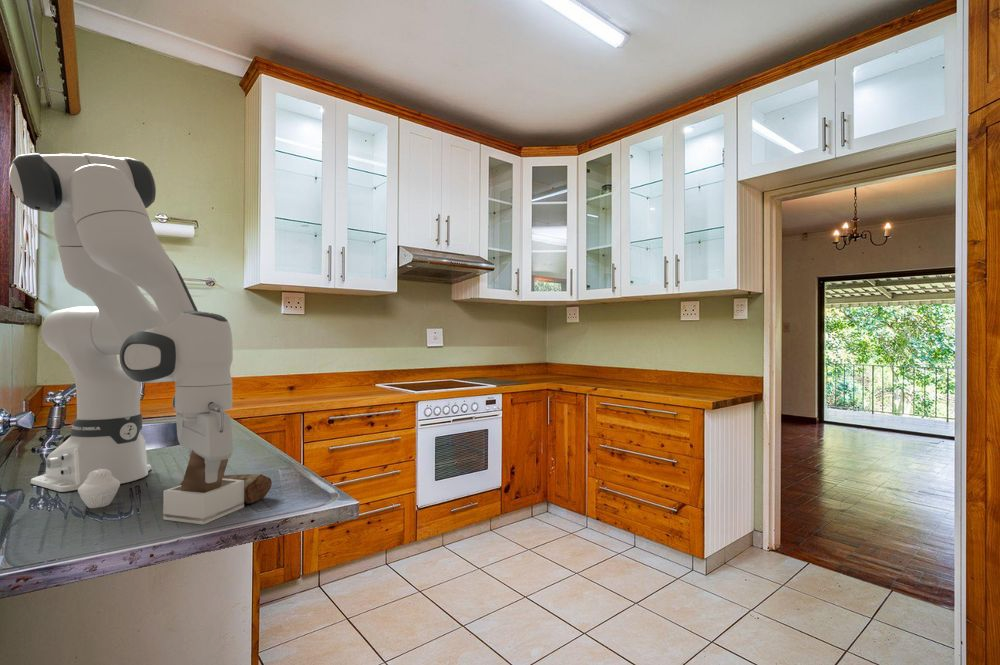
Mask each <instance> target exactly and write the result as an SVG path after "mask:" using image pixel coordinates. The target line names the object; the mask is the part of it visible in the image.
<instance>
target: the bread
mask: <svg viewBox="0 0 1000 665" xmlns="http://www.w3.org/2000/svg"><path fill="white" fill-rule="evenodd" d="M223 478H225V479H236V480H244V505H246V504H247V505H249V504H250V505H251V504H253V503H255V502H258V501H260V500H262V499H263V498H265V497H266V496H267V495H268V493H269V492H270V489H271V487H272V478H270V477H269V476H266V475H264V474H259V473H258V474H257V473H256V474H255V473H254V474H253V473H252V474H249V473H248V474H226V475H225V474H224V476H223ZM182 482H183V480H182V481H181V482H180V484H179V485H178V486H180V485H182Z"/></svg>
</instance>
